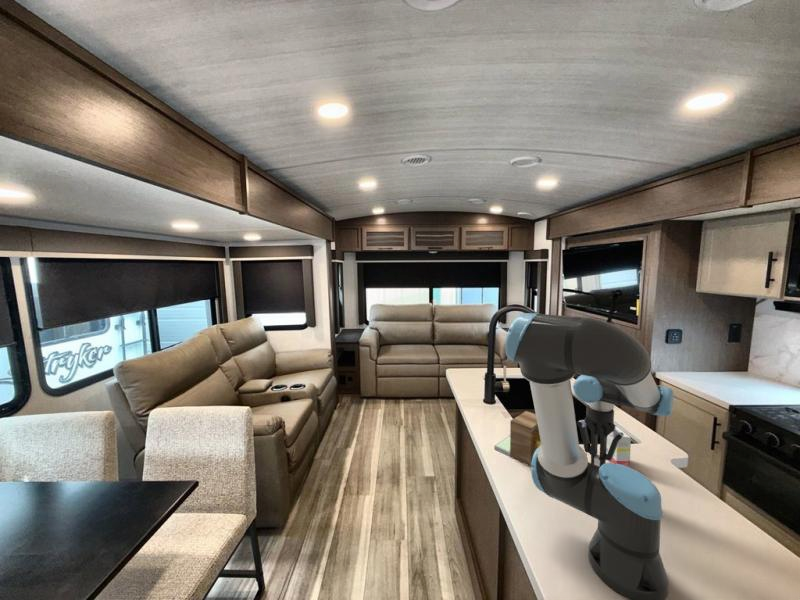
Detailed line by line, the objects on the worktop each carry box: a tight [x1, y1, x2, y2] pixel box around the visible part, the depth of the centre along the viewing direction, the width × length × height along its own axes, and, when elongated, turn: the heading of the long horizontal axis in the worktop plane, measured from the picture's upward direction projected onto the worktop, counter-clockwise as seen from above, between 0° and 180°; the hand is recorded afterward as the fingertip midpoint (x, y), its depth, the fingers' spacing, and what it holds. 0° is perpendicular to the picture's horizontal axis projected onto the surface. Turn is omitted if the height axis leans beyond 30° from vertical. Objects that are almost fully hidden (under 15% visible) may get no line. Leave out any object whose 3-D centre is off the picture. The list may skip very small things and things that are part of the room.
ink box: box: [606, 425, 632, 468], centre depth 114 cm, size 9×5×12 cm, turn 175°
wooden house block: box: [509, 410, 539, 467], centre depth 119 cm, size 12×8×14 cm, turn 131°
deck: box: [493, 434, 532, 468], centre depth 120 cm, size 12×22×2 cm, turn 41°
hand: (597, 475), depth 102 cm, fingers closed
